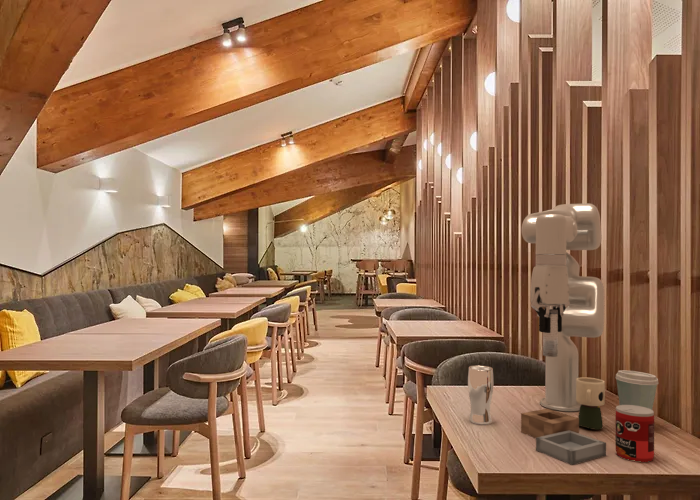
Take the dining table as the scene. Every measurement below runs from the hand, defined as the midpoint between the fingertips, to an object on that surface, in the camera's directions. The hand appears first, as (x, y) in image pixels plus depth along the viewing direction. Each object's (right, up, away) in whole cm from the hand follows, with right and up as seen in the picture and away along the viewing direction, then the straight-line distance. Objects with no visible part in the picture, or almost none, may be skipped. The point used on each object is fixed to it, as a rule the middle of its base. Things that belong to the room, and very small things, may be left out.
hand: (550, 331), depth 137 cm
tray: (0, -27, -13) cm, 30 cm away
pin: (0, -6, 0) cm, 6 cm away
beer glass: (-16, -27, +10) cm, 33 cm away
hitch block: (0, -27, -1) cm, 27 cm away
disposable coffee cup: (+27, -28, +8) cm, 39 cm away
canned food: (+14, -27, -15) cm, 34 cm away
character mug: (+13, -28, +6) cm, 31 cm away
